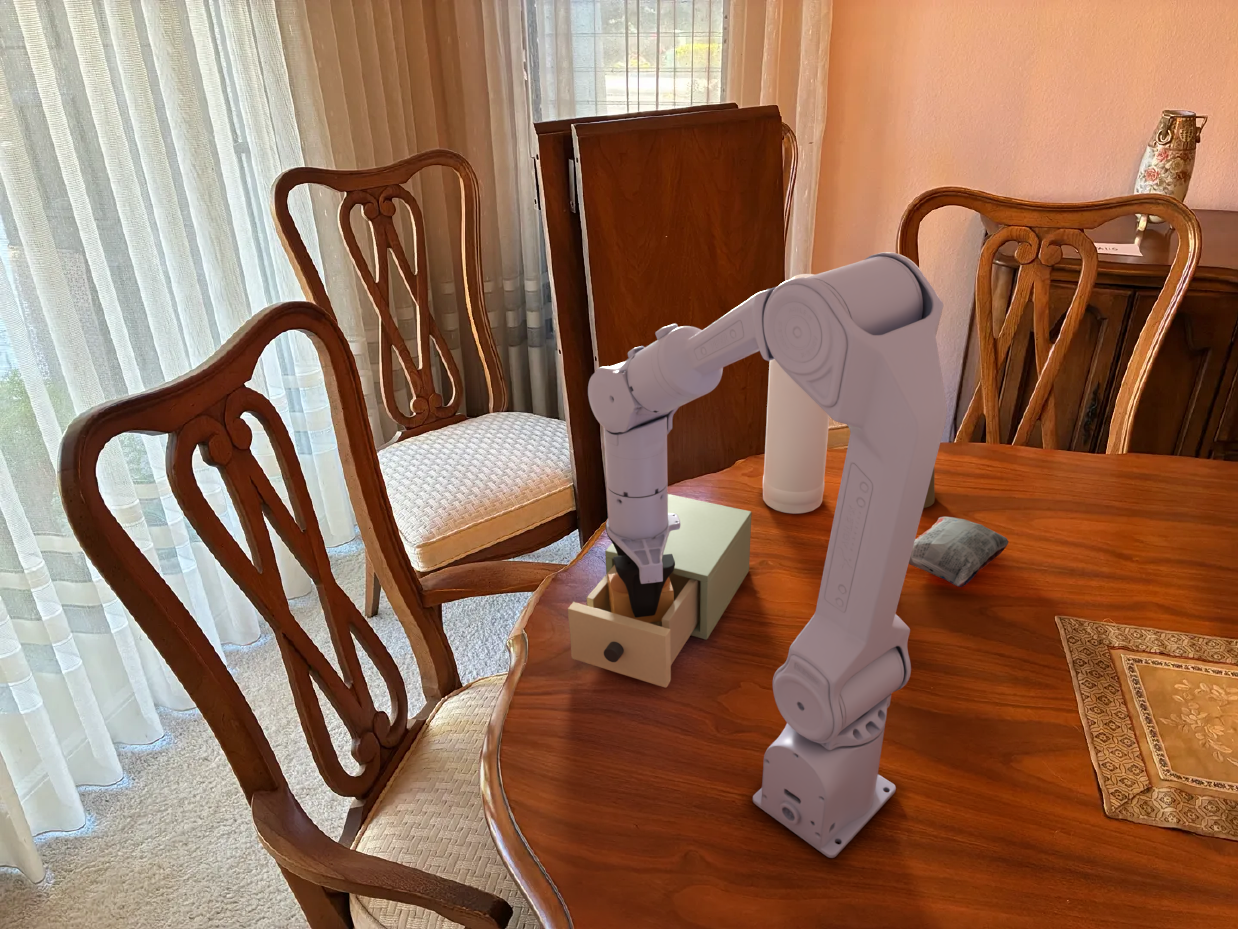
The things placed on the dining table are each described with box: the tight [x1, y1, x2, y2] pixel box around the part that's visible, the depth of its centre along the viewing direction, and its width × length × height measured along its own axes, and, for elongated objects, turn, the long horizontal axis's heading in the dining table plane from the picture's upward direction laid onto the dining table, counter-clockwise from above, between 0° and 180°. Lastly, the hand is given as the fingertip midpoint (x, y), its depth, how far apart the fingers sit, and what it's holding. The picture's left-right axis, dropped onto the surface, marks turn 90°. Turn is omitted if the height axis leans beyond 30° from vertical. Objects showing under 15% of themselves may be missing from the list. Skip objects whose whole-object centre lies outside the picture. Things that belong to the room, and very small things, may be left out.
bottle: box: [762, 273, 831, 515], centre depth 107 cm, size 8×8×30 cm
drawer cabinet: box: [604, 493, 752, 640], centre depth 95 cm, size 14×12×8 cm
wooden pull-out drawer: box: [567, 565, 701, 689], centre depth 87 cm, size 14×10×6 cm
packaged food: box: [908, 516, 1009, 588], centre depth 98 cm, size 9×12×5 cm
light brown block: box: [608, 573, 674, 623], centre depth 86 cm, size 6×4×5 cm, turn 98°
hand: (640, 600), depth 86 cm, fingers closed on light brown block, 4 cm apart
